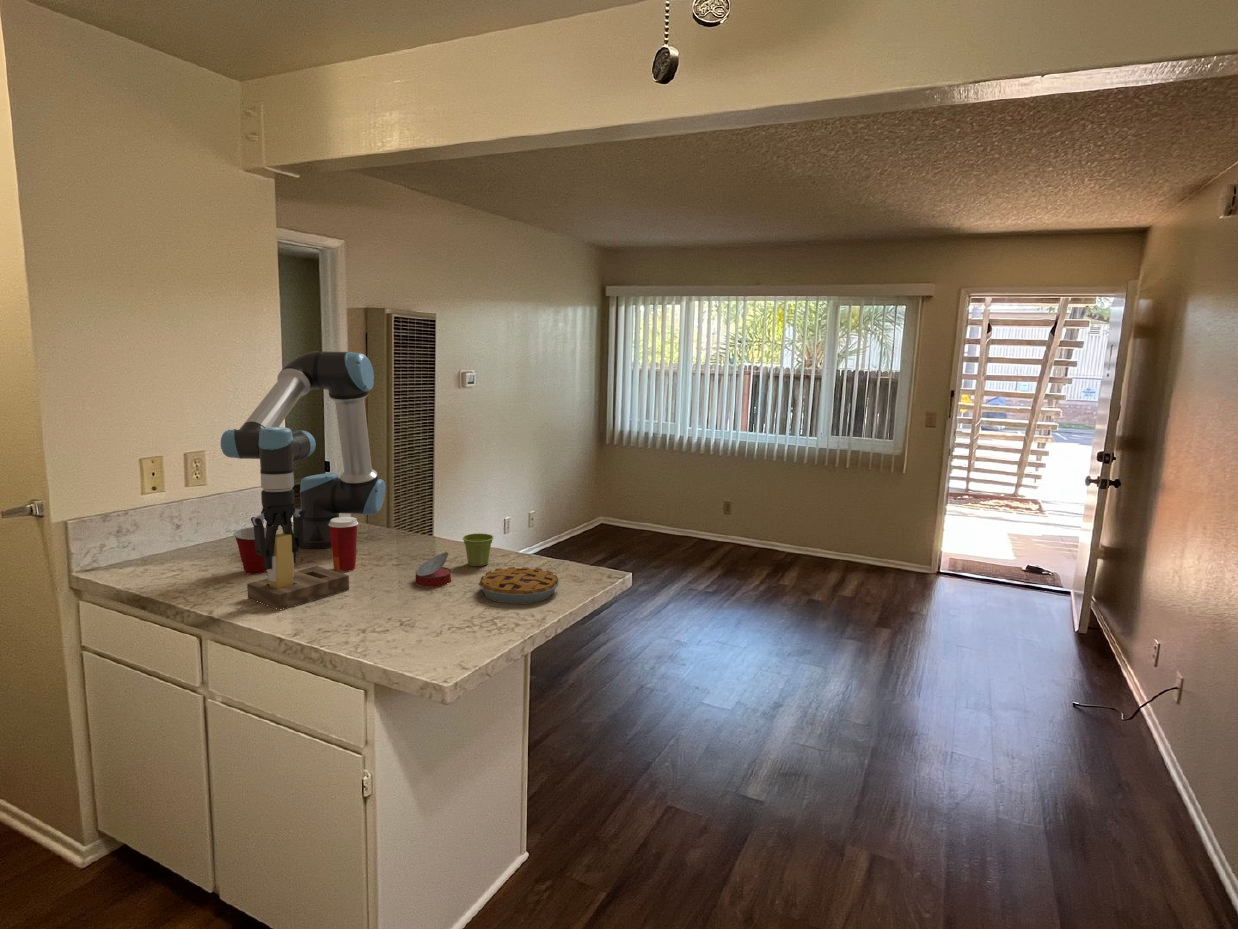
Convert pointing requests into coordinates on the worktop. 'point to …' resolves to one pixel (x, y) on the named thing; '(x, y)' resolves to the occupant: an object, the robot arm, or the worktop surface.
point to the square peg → (283, 561)
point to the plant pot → (478, 548)
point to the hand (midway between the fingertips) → (281, 578)
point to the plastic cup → (249, 550)
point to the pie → (518, 585)
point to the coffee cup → (344, 542)
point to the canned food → (433, 572)
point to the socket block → (299, 588)
